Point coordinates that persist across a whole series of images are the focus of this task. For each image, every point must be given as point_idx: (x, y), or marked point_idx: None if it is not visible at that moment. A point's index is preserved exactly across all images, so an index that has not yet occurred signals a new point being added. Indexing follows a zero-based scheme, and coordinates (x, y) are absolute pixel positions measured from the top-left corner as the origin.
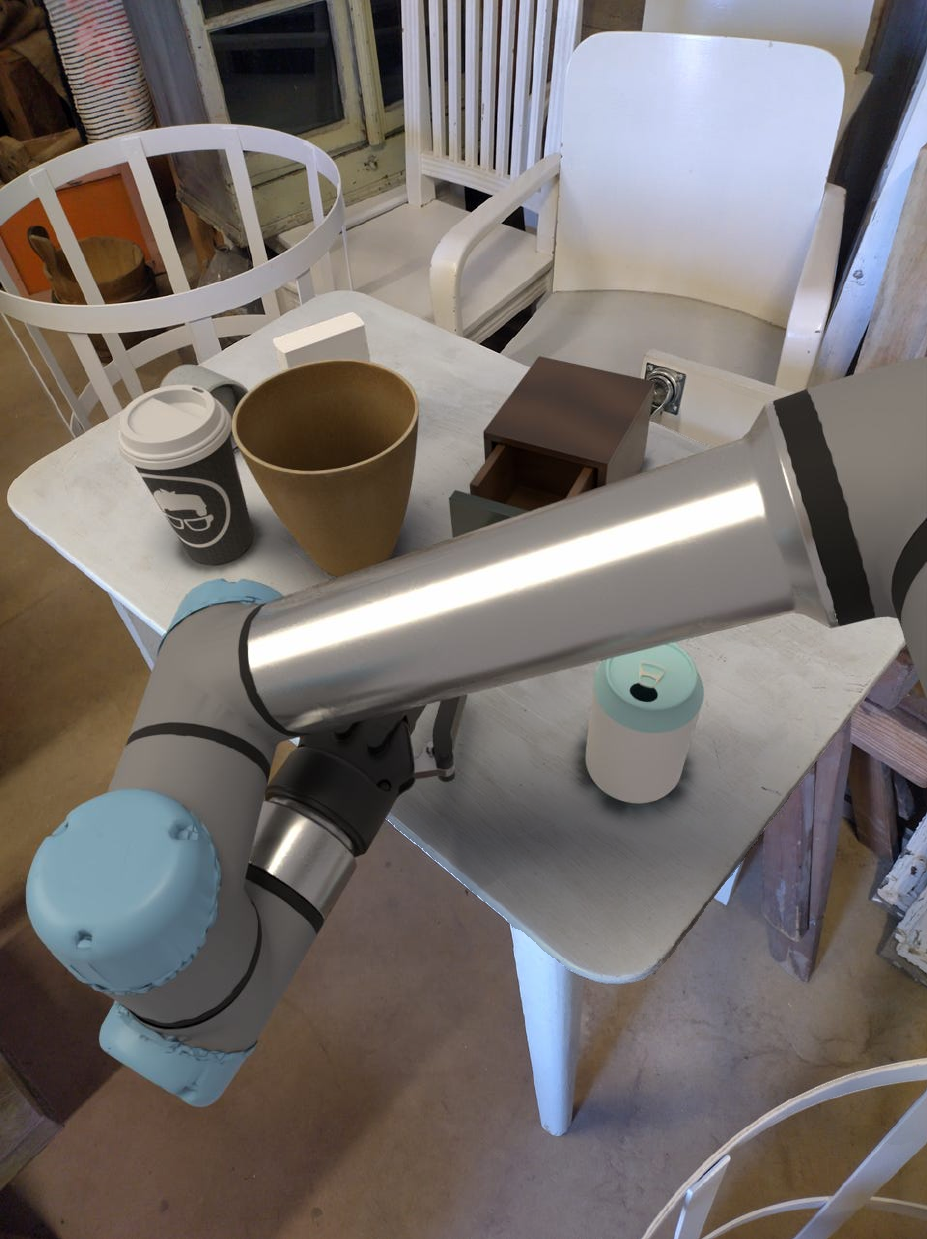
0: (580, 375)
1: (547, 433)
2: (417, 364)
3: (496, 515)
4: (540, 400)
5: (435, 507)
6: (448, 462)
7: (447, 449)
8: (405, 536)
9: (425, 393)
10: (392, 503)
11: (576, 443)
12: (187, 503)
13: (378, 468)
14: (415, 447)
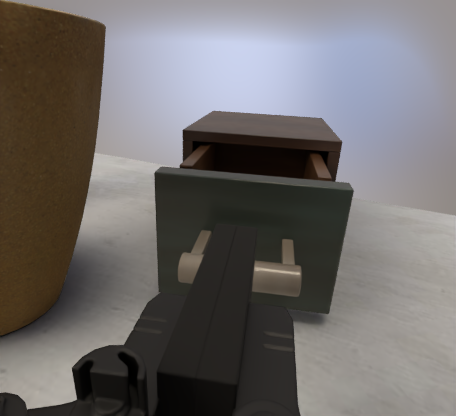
0: (257, 115)
1: (256, 130)
2: (94, 165)
3: (235, 185)
4: (232, 121)
5: (120, 245)
6: (129, 212)
7: (127, 204)
8: (80, 275)
9: (102, 177)
10: (54, 164)
11: (293, 134)
12: None
13: (17, 38)
14: (99, 89)
